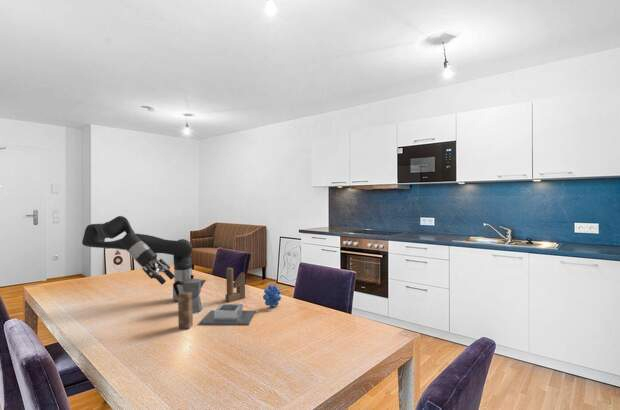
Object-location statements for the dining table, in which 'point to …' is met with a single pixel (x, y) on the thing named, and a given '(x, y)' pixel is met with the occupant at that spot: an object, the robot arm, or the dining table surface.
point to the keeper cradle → (228, 316)
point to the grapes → (272, 296)
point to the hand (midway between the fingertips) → (168, 280)
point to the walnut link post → (185, 310)
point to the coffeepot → (195, 288)
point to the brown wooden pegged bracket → (235, 286)
